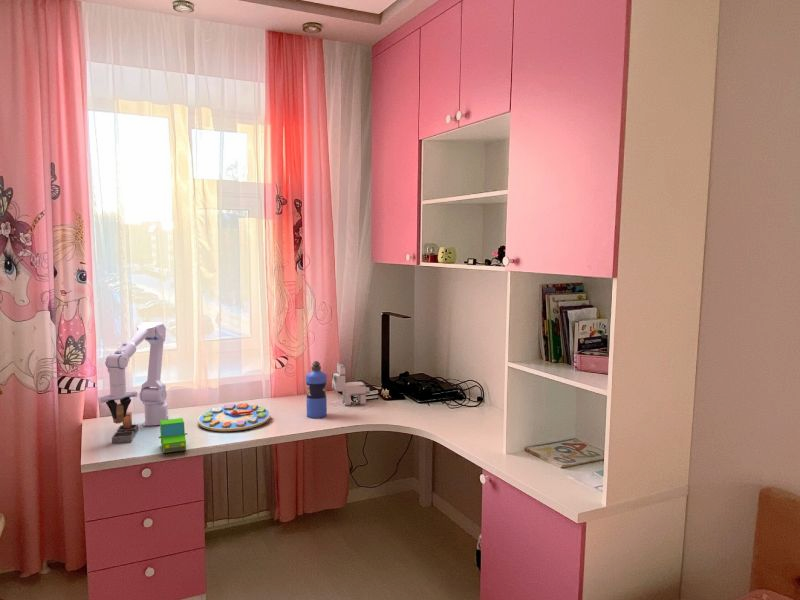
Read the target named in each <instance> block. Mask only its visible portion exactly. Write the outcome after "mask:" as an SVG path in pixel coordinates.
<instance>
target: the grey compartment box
mask: <svg viewBox="0 0 800 600" xmlns="http://www.w3.org/2000/svg"><path fill="white" fill-rule="evenodd" d="M138 429H139V423H137V424H136V423H135V424H133V412H132V411H131V412H128V411H127V412H126V417H124V422H122V424H121V425H119V427H118V428H117V430H116V432H115V433H114V434H113V435H112V437H111V444H112V445H113V444H114V443H116V444H128V443H133V440H134V439H133V438H135V437H136V435H137V433H138V432H137V431H139V430H138ZM114 445H115V444H114Z"/></svg>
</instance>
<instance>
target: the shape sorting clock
mask: <svg viewBox="0 0 800 600" xmlns="http://www.w3.org/2000/svg"><path fill="white" fill-rule="evenodd" d="M269 419H271V411H270V410H269V409H267V408H266V407H263V406H259V405H258V404H249V403H243V402H242V403H238V404H234V403H233V404H232V403H228V404H224V406H220V407H213V408H211V409H209V410H207V411H205V412H203V413H201V414H200V415H199V416H198V417H197V424H198V425H199V426H200V427H202V429H203V428H205V429H207V430H210V431H214V432H215V431H216V432H235V431H243V430H253V429H254V428H255V427H259V426H261V425H262V424H265V423H267V422H268V421H269ZM253 427H254V428H253ZM252 428H253V429H252Z"/></svg>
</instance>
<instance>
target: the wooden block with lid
mask: <svg viewBox="0 0 800 600" xmlns="http://www.w3.org/2000/svg"><path fill="white" fill-rule="evenodd" d="M116 414H117V418H116V419H113V418H112V421H113V423H114V424H116V425H117V424H123V422H124V405H123V404H121V403H117V408H116Z"/></svg>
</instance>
